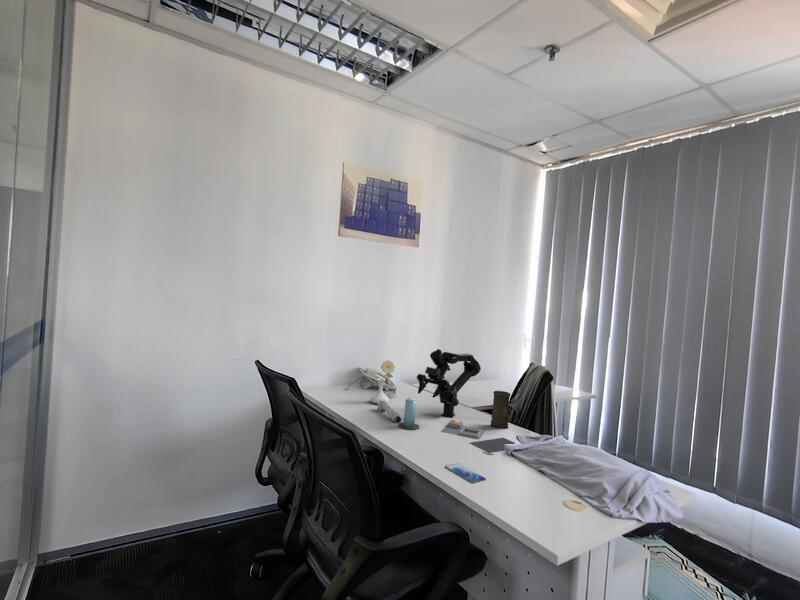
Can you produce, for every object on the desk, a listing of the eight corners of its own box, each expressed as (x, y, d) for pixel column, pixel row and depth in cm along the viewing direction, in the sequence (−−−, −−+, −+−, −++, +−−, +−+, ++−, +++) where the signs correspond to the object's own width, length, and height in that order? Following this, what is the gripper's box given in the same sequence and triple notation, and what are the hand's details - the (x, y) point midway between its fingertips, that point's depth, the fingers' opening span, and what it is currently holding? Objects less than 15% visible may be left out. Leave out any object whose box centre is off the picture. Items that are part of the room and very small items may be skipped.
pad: (402, 422, 207) (402, 421, 207) (422, 426, 203) (422, 424, 203) (395, 427, 198) (395, 426, 198) (415, 431, 194) (415, 430, 194)
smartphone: (458, 463, 159) (487, 478, 147) (458, 465, 159) (487, 481, 147) (443, 465, 155) (472, 482, 143) (443, 467, 155) (472, 484, 143)
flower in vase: (367, 404, 236) (371, 360, 236) (372, 399, 248) (375, 357, 247) (390, 406, 234) (393, 362, 234) (393, 402, 245) (397, 359, 245)
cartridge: (412, 423, 204) (414, 397, 204) (415, 427, 199) (417, 399, 199) (402, 423, 202) (404, 397, 202) (405, 427, 197) (407, 399, 197)
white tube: (393, 416, 203) (377, 396, 226) (391, 428, 204) (375, 408, 227) (403, 415, 205) (386, 396, 228) (401, 428, 206) (384, 407, 229)
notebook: (503, 440, 193) (467, 446, 181) (503, 437, 193) (468, 442, 181) (524, 450, 182) (488, 457, 171) (524, 447, 182) (488, 453, 171)
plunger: (453, 424, 206) (453, 419, 206) (459, 425, 205) (459, 420, 205) (451, 426, 203) (451, 421, 203) (457, 427, 202) (458, 422, 202)
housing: (449, 425, 209) (449, 419, 209) (485, 432, 202) (485, 425, 202) (440, 433, 194) (440, 427, 194) (479, 441, 187) (479, 434, 187)
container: (488, 428, 208) (491, 392, 208) (491, 424, 216) (494, 389, 216) (506, 432, 205) (509, 395, 205) (509, 427, 213) (512, 392, 213)
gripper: (420, 358, 220) (405, 381, 212) (449, 364, 208) (435, 388, 200) (427, 372, 226) (413, 395, 218) (457, 378, 214) (443, 403, 206)
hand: (425, 395), depth 210 cm, fingers open, 9 cm apart
